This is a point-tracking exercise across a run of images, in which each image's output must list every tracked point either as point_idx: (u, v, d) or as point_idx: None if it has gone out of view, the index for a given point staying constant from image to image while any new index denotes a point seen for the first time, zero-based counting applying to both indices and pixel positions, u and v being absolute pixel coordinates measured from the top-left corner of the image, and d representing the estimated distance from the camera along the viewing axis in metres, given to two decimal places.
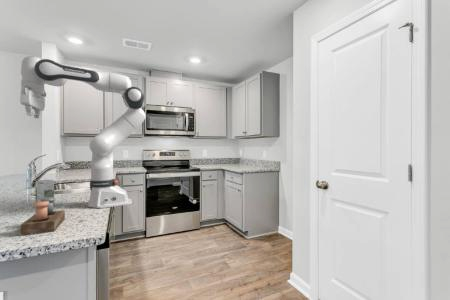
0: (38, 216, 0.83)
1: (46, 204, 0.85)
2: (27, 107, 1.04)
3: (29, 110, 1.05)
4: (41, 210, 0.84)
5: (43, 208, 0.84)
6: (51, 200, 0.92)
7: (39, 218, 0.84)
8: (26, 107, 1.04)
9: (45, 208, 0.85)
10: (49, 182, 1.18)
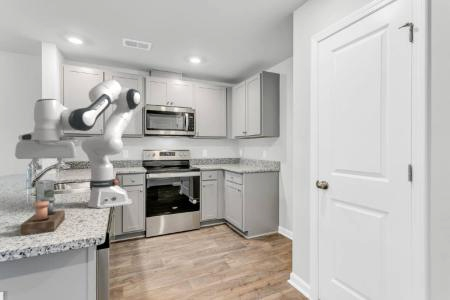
0: (38, 216, 0.83)
1: (46, 204, 0.85)
2: (61, 160, 0.94)
3: None
4: (41, 210, 0.84)
5: (43, 208, 0.84)
6: (51, 200, 0.92)
7: (39, 218, 0.84)
8: (61, 160, 0.94)
9: (45, 208, 0.85)
10: (49, 182, 1.18)
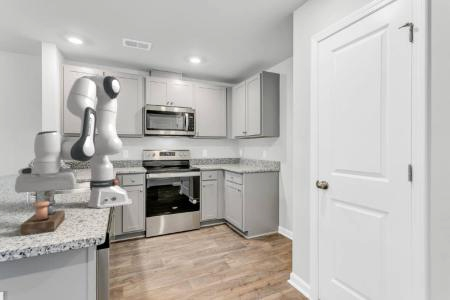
0: (38, 216, 0.83)
1: (46, 204, 0.85)
2: (54, 192, 0.93)
3: (53, 195, 0.93)
4: (41, 210, 0.84)
5: (43, 208, 0.84)
6: (51, 203, 0.92)
7: (39, 218, 0.84)
8: (54, 192, 0.93)
9: (45, 208, 0.85)
10: None
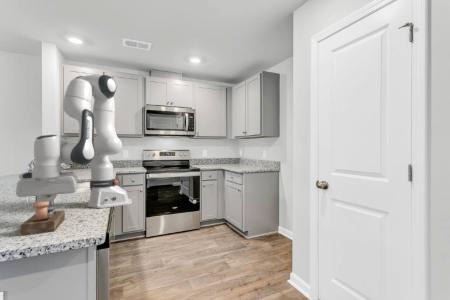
0: (38, 216, 0.83)
1: (46, 204, 0.85)
2: (55, 195, 0.94)
3: (54, 198, 0.94)
4: (41, 210, 0.84)
5: (43, 208, 0.84)
6: (51, 209, 0.92)
7: (39, 218, 0.84)
8: (55, 196, 0.93)
9: (45, 208, 0.85)
10: None
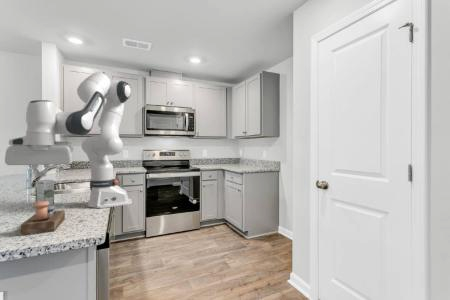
0: (38, 216, 0.83)
1: (46, 204, 0.85)
2: (48, 166, 0.86)
3: None
4: (41, 210, 0.84)
5: (43, 208, 0.84)
6: (51, 209, 0.92)
7: (39, 218, 0.84)
8: (48, 166, 0.85)
9: (45, 208, 0.85)
10: (49, 182, 1.18)
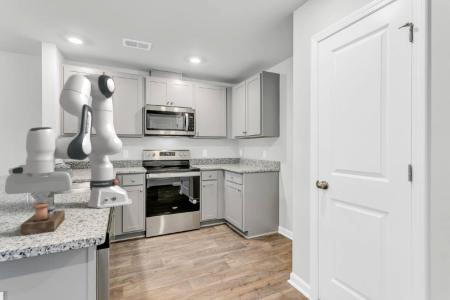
0: (38, 217, 0.83)
1: (46, 205, 0.85)
2: (48, 193, 0.86)
3: (47, 196, 0.86)
4: (41, 211, 0.84)
5: (43, 209, 0.84)
6: (51, 209, 0.92)
7: (39, 219, 0.84)
8: (48, 193, 0.86)
9: (45, 209, 0.85)
10: None
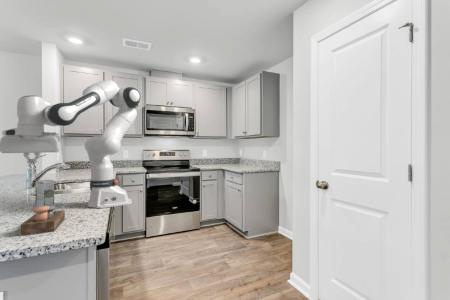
0: (38, 221, 0.83)
1: (46, 209, 0.85)
2: (38, 154, 0.98)
3: (37, 157, 0.98)
4: (41, 215, 0.84)
5: (43, 213, 0.84)
6: (51, 209, 0.92)
7: None
8: (38, 154, 0.98)
9: (45, 213, 0.85)
10: (49, 182, 1.18)
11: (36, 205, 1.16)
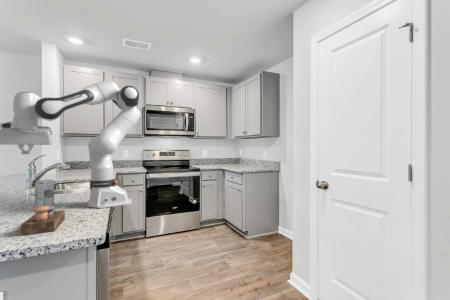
0: (38, 221, 0.83)
1: (46, 209, 0.85)
2: (32, 146, 1.06)
3: (31, 149, 1.07)
4: (41, 215, 0.84)
5: (43, 213, 0.84)
6: (51, 209, 0.92)
7: None
8: (32, 146, 1.06)
9: (45, 213, 0.85)
10: (49, 182, 1.18)
11: (36, 205, 1.16)
